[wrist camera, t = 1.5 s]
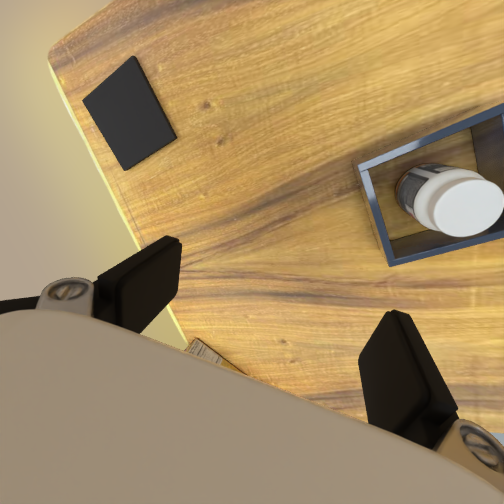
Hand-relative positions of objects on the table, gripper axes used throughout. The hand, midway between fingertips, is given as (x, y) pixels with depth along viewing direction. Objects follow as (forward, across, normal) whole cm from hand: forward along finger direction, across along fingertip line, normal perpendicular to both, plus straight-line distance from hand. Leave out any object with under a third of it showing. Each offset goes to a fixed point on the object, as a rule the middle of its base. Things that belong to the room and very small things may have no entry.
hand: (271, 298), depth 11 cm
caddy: (+24, -13, -4) cm, 27 cm away
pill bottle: (+24, -13, -4) cm, 27 cm away
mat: (+23, +25, -4) cm, 35 cm away
